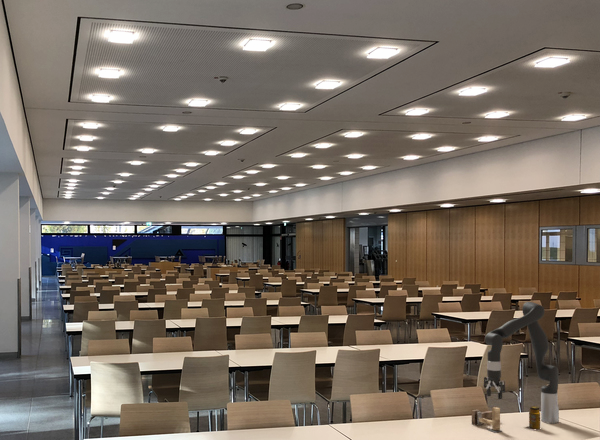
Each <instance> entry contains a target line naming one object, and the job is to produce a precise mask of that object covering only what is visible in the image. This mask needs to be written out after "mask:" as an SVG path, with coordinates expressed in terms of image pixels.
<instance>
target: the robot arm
mask: <svg viewBox="0 0 600 440" xmlns="http://www.w3.org/2000/svg"><path fill="white" fill-rule="evenodd" d="M521 310H522V316H520V317H518V318H514V319H511V320H509V321H507V322H505V323H504V324H503V325H502V326H500V327H497V328H496V329H495V328H494V330H491V331H489V332H488V333H487V334H486V335H485V337H484V342H485V344H486V345H489V346H491V347H490V350H488V351H487V364H486V367H487V370H486V371H487V372H486V376H484V377H483V388H485V390H486V395H487V397H491V396H492V391H491V389H492V387H493V388H495V390H497V399H498V400H502V399H503V393H505V392H506V382H505V381H504V380H501V378H502V364H501V353H502V349H503V343H504V340H503V339H507V338H509V337H511V336H512V335H513V334H515V333H516V332H518V331H520V330H521V329H523V328H524V327H527V329H528V334H529V338H530V342H531V345H532V350H533V354H534V357H535V365H536V371H537V376H538V378H539V379H540V380H542V381H546V382H549V383H548V384H547V385H542V386H541V387H540V422H543V423H546V424H557V423H558V422H560V413H559V412H560V407H559V405H558V404H559V403H558V400H559V399H558V398H559V397H558V389H559V373H560V372H559V369H558V367H557V365H550V364H546V363H545V356H546V354H547V353H548V350H549V347H550V345H549V340H548V336H547V334H546V333H545V332H546V331H544V329H543V328H542V326H541V325H540V324H539V322H538V321H539V320H541V319H542V318H543V317H544V315H545V308H544V306H543V305H541V304H538V303H536V302H533V301H527V302H524V303H523V305H522V309H521Z"/></svg>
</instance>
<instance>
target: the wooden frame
mask: <svg viewBox="0 0 600 440" xmlns="http://www.w3.org/2000/svg"><path fill="white" fill-rule="evenodd" d="M491 409H492V410H491V411H492V420H488V419H485V418H482V412H483V411H480V412H477V421H478V425H477V426H482V423H484V424H486V425H490V426H492V428H491V429H493V430H501V408H500V407H497V406H494V407H492V408H491Z"/></svg>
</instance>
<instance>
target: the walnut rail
mask: <svg viewBox="0 0 600 440" xmlns="http://www.w3.org/2000/svg"><path fill="white" fill-rule="evenodd" d="M477 412H482V418H485V419H488V420H492V410H487V411H481V410H480V409H472V410H471V425H473V426H479V425H478V421H477ZM482 424H485V423H482Z"/></svg>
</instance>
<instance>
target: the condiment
mask: <svg viewBox="0 0 600 440" xmlns="http://www.w3.org/2000/svg"><path fill="white" fill-rule="evenodd" d="M528 422H529V423H528V426H524V427H523V428H525V429H527V430H531V431H538V430H539V431H540V430H544V428H543V427H541V409H540V407H539V406H535V405H531V406H530V405H529V411H528ZM540 428H541V429H540ZM534 429H536V430H534Z"/></svg>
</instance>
